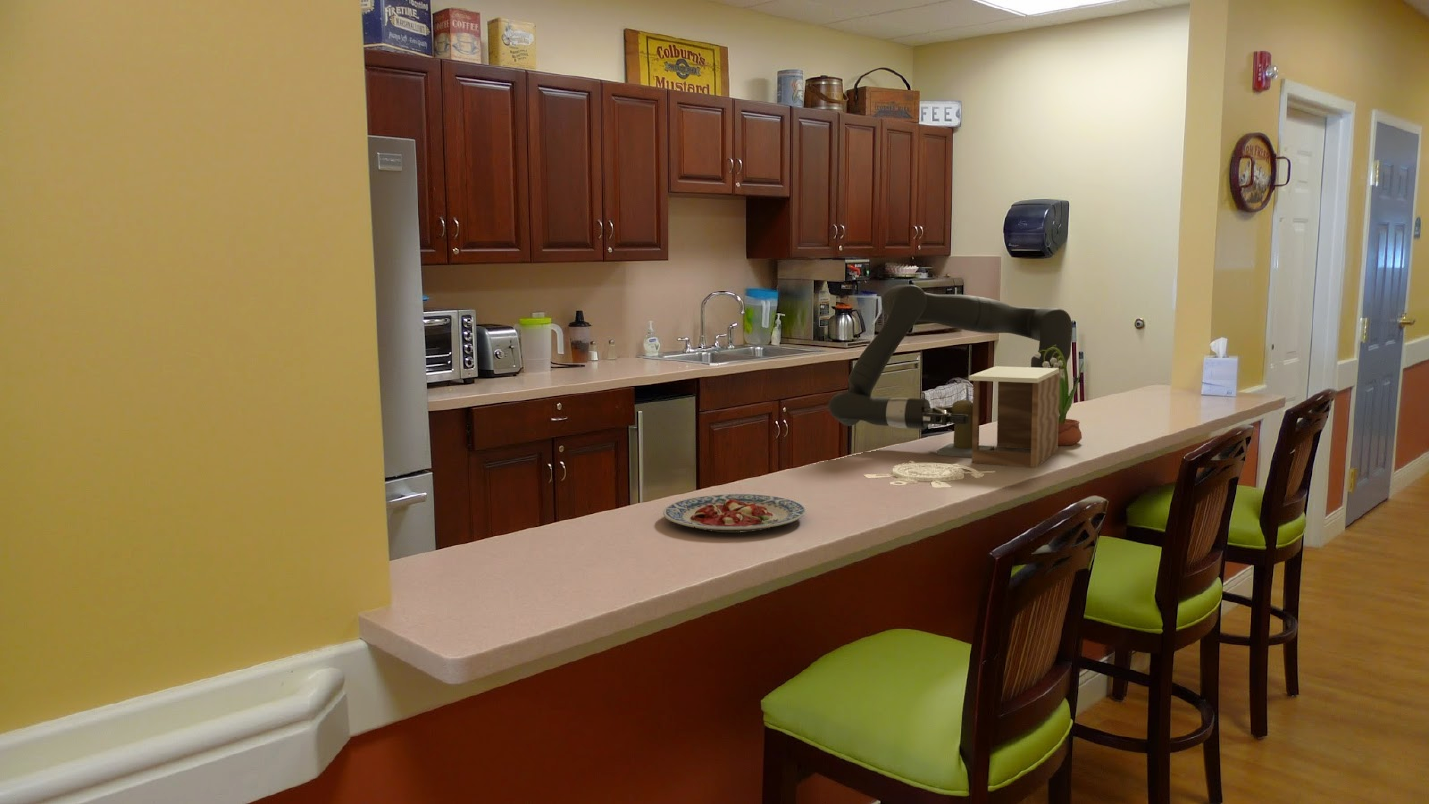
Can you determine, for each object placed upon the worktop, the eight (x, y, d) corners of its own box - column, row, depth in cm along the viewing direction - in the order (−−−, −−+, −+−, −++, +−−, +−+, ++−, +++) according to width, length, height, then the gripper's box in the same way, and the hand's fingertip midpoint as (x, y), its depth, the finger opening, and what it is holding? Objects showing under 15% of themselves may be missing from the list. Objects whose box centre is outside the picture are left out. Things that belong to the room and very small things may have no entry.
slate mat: (950, 447, 255) (950, 443, 255) (994, 450, 250) (994, 446, 249) (936, 454, 245) (936, 450, 245) (982, 458, 240) (982, 453, 240)
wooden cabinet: (994, 445, 256) (995, 366, 253) (1057, 450, 249) (1059, 368, 246) (967, 462, 235) (968, 375, 233) (1036, 467, 228) (1038, 378, 225)
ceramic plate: (635, 520, 188) (635, 504, 187) (744, 498, 203) (744, 484, 203) (722, 549, 167) (722, 531, 167) (835, 523, 183) (835, 506, 183)
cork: (961, 439, 254) (958, 397, 252) (983, 442, 250) (980, 398, 247) (948, 446, 250) (944, 403, 248) (970, 449, 246) (966, 405, 243)
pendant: (1002, 472, 226) (1002, 465, 226) (939, 494, 206) (939, 487, 205) (917, 461, 240) (917, 455, 240) (850, 481, 220) (850, 475, 220)
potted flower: (1032, 445, 255) (1034, 345, 252) (1031, 439, 265) (1034, 342, 261) (1082, 447, 252) (1085, 346, 248) (1080, 440, 261) (1083, 343, 258)
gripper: (898, 401, 247) (965, 405, 239) (917, 394, 259) (981, 398, 251) (898, 432, 248) (964, 437, 240) (917, 424, 260) (980, 428, 252)
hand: (973, 417), depth 246 cm, fingers open, 8 cm apart
